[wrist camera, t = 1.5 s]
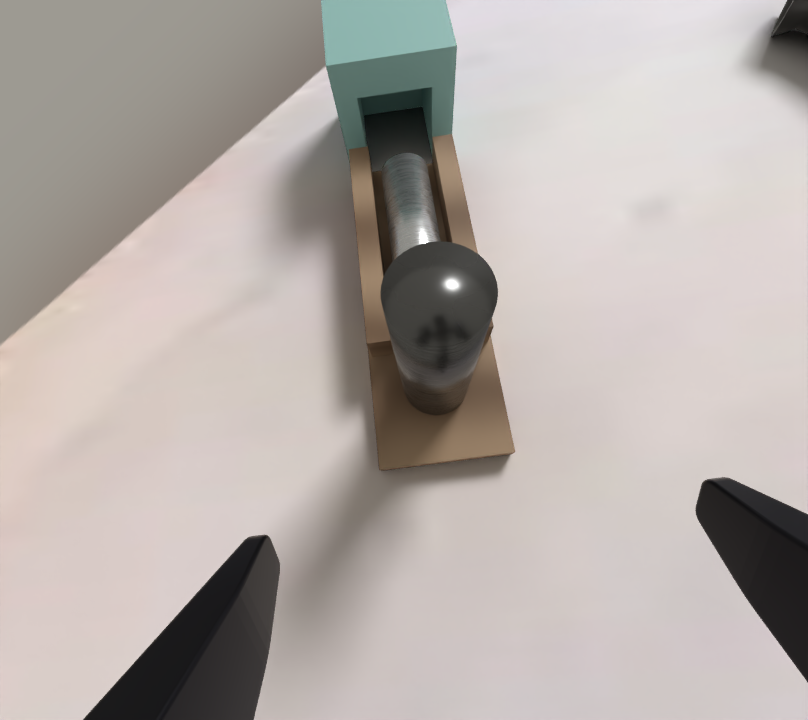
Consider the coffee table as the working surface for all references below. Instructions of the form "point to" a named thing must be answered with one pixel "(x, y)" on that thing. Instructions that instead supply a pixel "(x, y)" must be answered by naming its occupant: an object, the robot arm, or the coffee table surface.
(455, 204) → the guide
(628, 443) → the coffee table surface
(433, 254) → the slip rod
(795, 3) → the black handbell
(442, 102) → the socket block
